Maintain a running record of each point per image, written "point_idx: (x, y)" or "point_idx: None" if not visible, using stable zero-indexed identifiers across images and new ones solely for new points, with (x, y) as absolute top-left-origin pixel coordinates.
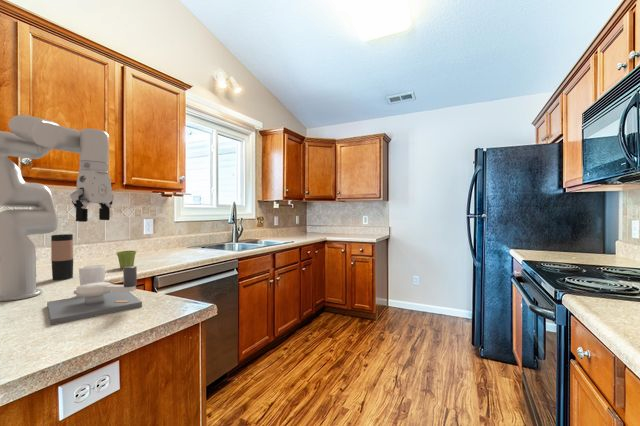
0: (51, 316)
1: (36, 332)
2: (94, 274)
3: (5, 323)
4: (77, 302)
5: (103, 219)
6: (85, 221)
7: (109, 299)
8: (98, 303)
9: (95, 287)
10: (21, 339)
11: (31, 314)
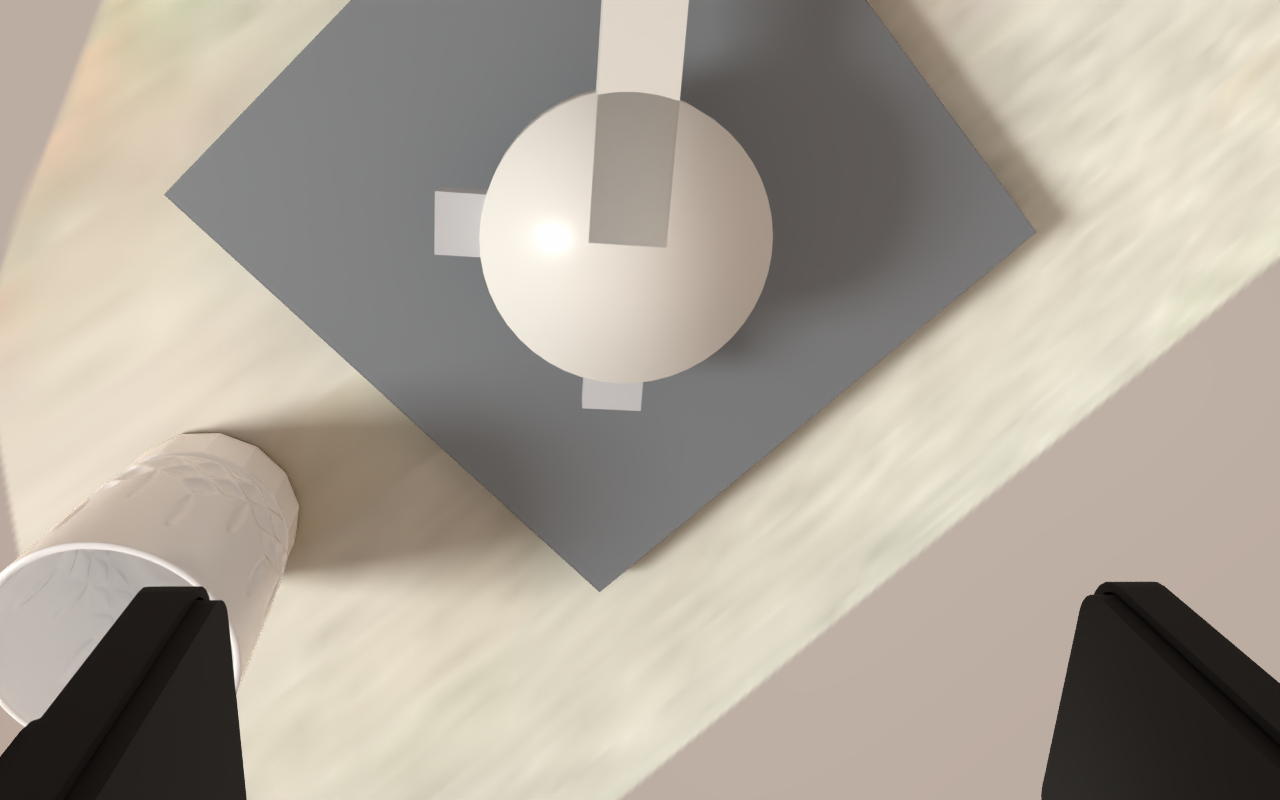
0: (968, 281)
1: (1144, 210)
2: (211, 538)
3: (932, 541)
4: None
5: (233, 720)
6: (1141, 588)
7: None
8: None
9: (709, 174)
10: (1247, 206)
11: (771, 533)
